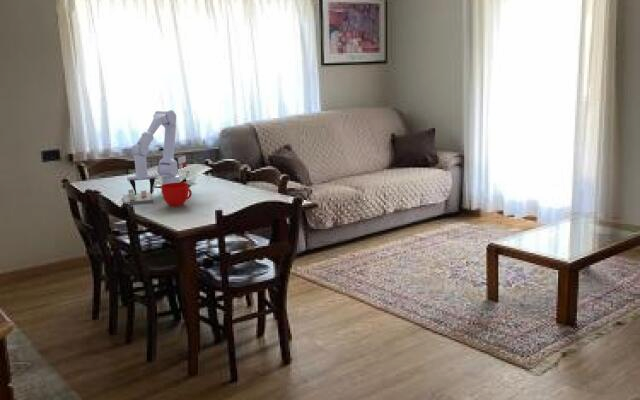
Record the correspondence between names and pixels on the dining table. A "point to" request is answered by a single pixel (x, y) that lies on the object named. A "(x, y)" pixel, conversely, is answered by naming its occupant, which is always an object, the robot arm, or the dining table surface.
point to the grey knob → (130, 190)
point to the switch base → (139, 199)
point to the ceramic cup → (175, 193)
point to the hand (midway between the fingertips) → (143, 193)
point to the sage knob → (132, 196)
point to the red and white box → (180, 161)
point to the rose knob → (143, 193)
